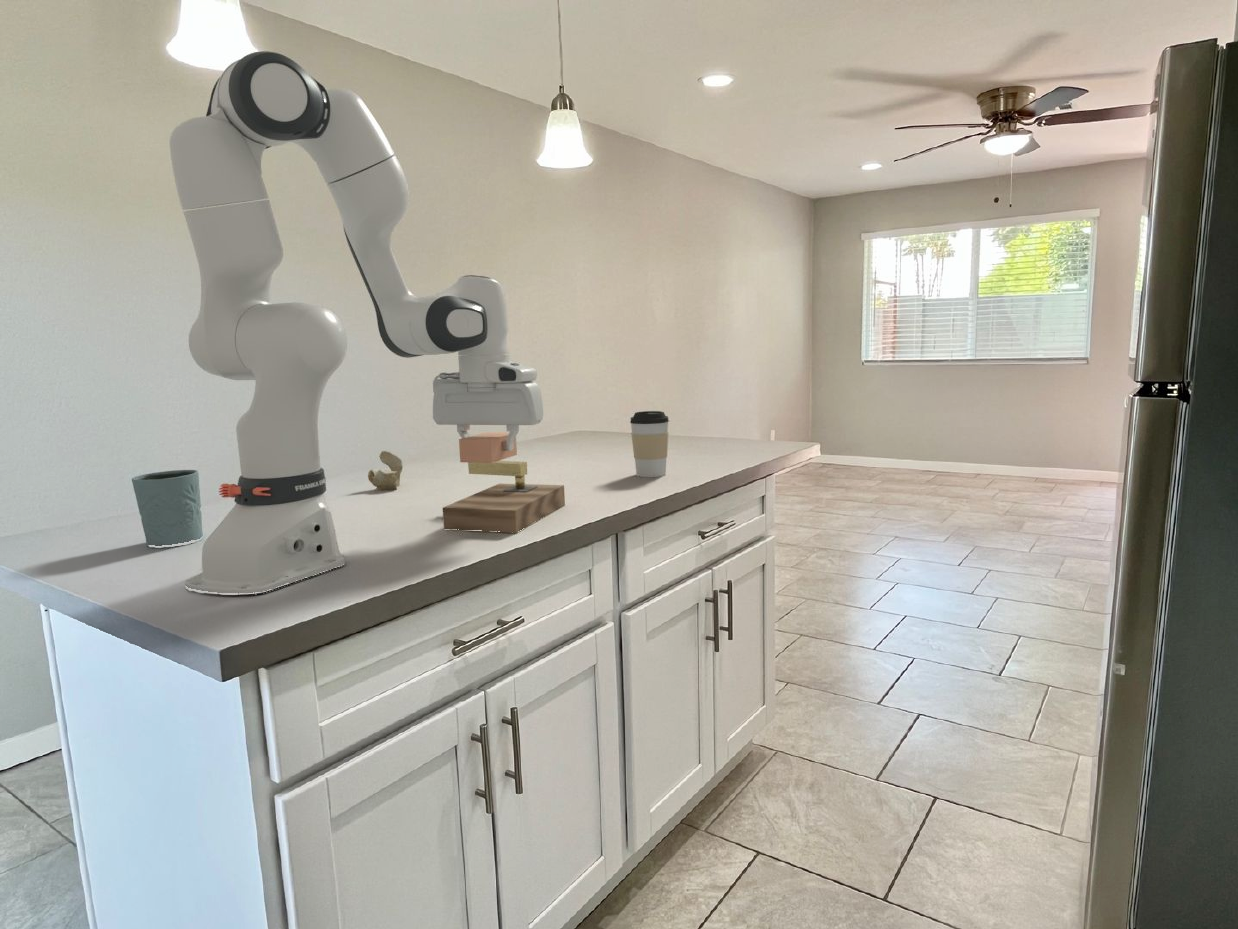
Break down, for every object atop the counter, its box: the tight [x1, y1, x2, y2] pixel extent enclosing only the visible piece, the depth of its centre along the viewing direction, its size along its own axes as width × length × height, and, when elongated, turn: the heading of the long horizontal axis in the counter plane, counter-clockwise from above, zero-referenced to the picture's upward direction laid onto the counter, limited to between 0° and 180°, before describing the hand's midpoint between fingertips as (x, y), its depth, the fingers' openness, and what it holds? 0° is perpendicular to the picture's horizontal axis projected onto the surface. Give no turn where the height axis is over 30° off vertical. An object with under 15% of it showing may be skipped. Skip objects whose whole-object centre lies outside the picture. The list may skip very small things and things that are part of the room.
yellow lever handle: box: [467, 460, 528, 488], centre depth 152 cm, size 12×2×5 cm, turn 65°
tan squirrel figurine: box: [367, 450, 404, 491], centre depth 178 cm, size 9×6×10 cm
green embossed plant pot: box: [131, 469, 204, 546], centre depth 136 cm, size 10×10×12 cm
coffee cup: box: [629, 410, 670, 478], centre depth 182 cm, size 9×9×15 cm
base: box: [442, 483, 566, 534], centre depth 146 cm, size 22×14×4 cm, turn 162°
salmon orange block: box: [458, 432, 518, 464], centre depth 139 cm, size 10×6×4 cm, turn 162°
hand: (489, 450), depth 139 cm, fingers closed on salmon orange block, 6 cm apart
